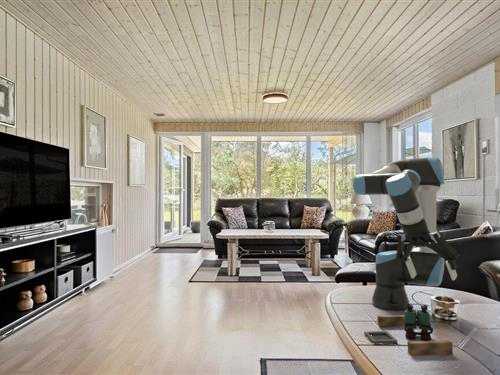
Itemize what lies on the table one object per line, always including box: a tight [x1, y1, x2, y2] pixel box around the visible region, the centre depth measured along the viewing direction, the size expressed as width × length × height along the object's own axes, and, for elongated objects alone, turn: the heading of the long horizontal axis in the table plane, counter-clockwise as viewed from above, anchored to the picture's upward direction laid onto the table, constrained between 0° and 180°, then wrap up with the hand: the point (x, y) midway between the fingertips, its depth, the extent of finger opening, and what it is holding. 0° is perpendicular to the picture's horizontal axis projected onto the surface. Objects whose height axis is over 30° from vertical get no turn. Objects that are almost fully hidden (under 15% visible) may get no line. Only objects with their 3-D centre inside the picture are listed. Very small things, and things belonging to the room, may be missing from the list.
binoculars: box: [403, 303, 434, 341], centre depth 120 cm, size 9×11×10 cm
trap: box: [363, 330, 398, 344], centre depth 120 cm, size 8×8×1 cm
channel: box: [376, 314, 454, 356], centre depth 120 cm, size 13×25×4 cm, turn 2°
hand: (433, 277), depth 120 cm, fingers open, 13 cm apart
